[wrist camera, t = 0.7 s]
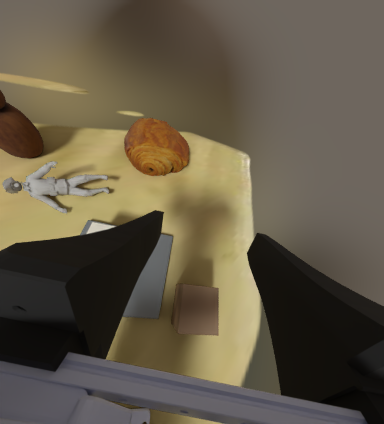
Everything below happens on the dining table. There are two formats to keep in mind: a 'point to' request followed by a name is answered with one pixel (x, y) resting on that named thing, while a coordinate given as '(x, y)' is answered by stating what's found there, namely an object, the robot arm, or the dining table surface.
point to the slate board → (148, 280)
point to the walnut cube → (195, 310)
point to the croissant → (156, 147)
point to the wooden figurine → (18, 132)
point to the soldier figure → (53, 186)
